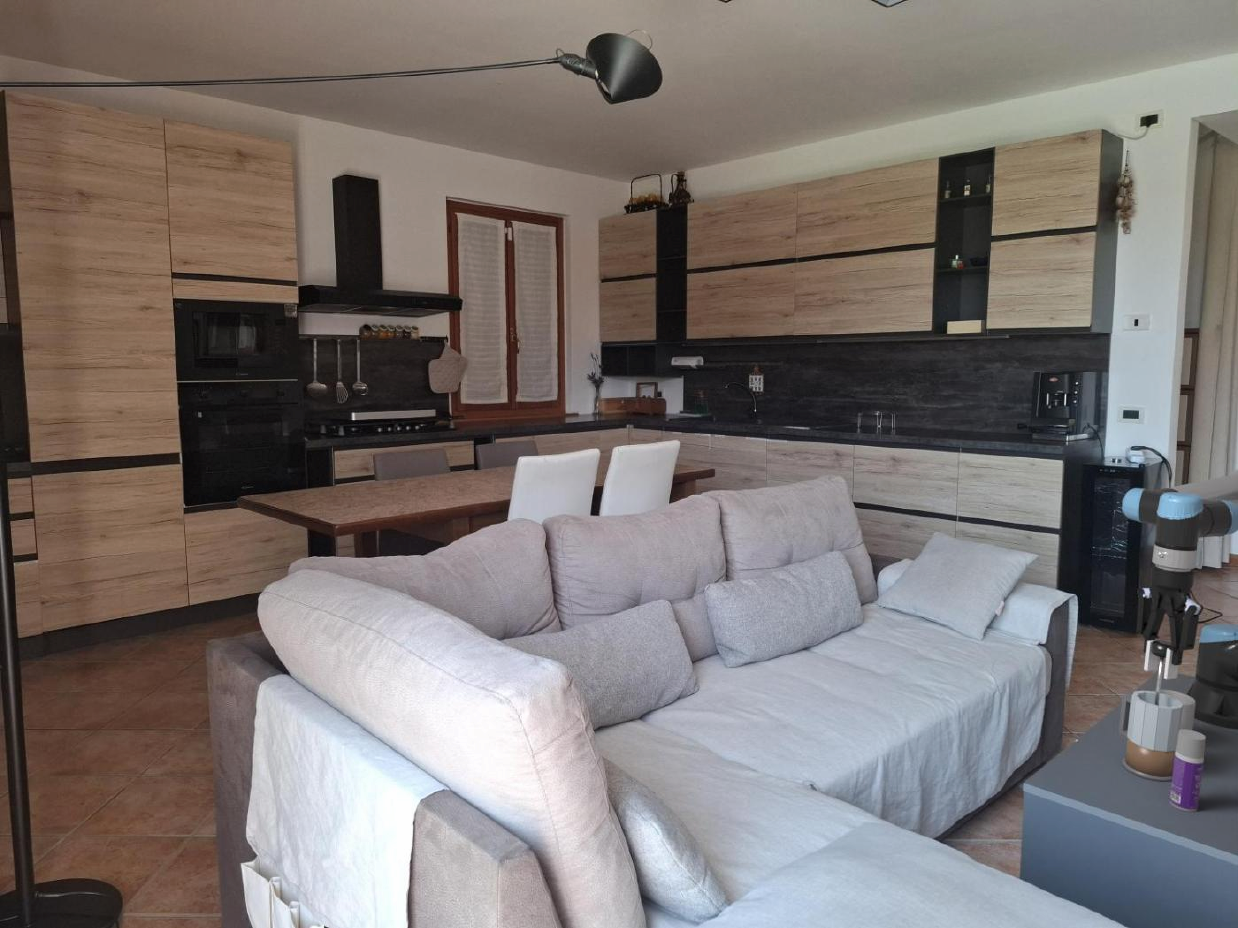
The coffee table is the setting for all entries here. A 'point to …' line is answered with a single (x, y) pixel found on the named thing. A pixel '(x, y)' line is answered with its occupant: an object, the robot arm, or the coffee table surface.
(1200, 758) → the container
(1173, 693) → the mug
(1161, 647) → the plunger
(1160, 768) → the carafe
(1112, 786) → the coffee table surface
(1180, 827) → the coffee table surface
